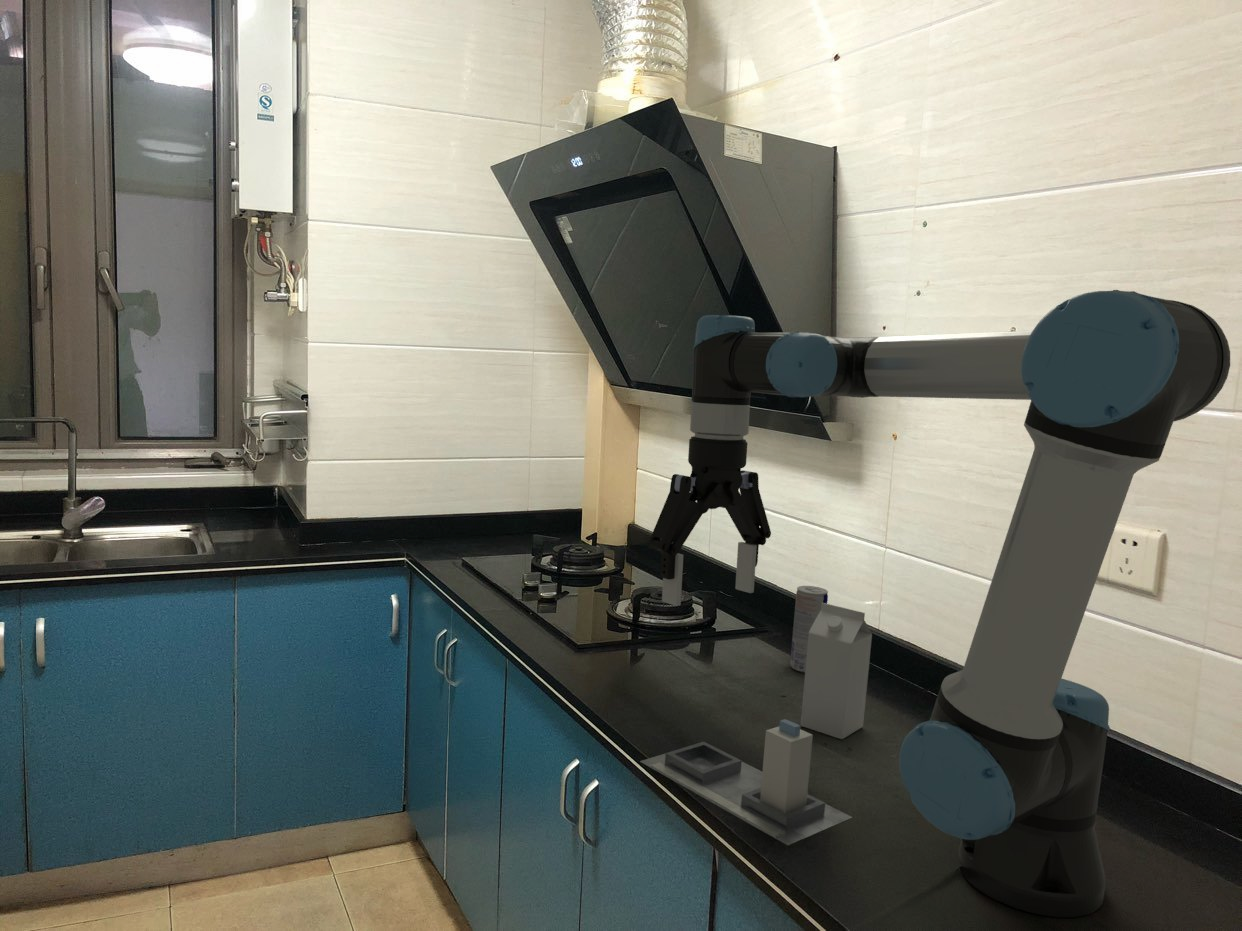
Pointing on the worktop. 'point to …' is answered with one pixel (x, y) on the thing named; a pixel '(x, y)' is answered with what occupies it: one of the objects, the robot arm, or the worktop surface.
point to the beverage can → (805, 622)
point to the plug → (786, 767)
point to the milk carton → (836, 672)
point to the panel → (742, 792)
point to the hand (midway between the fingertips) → (709, 597)
